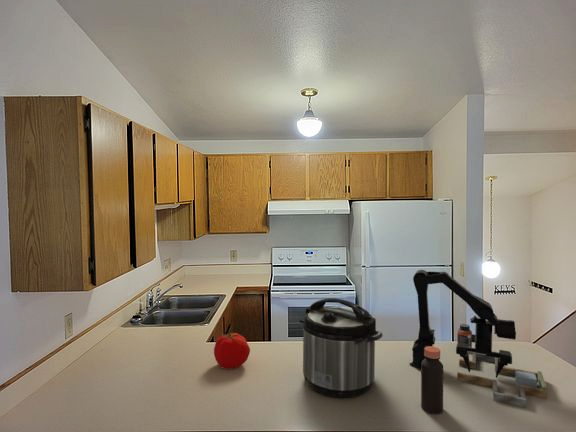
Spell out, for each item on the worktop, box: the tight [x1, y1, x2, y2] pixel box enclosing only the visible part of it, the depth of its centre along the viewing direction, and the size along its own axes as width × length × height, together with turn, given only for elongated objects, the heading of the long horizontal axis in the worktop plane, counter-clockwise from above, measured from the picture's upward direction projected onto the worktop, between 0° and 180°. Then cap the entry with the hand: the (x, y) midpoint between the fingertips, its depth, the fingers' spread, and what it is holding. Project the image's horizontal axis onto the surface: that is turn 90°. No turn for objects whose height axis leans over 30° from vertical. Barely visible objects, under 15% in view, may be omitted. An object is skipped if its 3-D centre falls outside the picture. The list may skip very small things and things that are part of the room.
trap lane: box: [456, 353, 548, 409], centre depth 135 cm, size 28×34×4 cm
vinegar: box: [420, 345, 444, 415], centre depth 117 cm, size 7×7×20 cm
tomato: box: [213, 332, 251, 370], centre depth 150 cm, size 16×14×14 cm
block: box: [514, 371, 538, 388], centre depth 131 cm, size 6×5×4 cm
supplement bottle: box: [456, 323, 473, 348], centre depth 163 cm, size 6×6×11 cm
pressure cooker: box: [299, 297, 383, 398], centre depth 136 cm, size 30×28×32 cm
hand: (482, 374), depth 138 cm, fingers open, 9 cm apart
